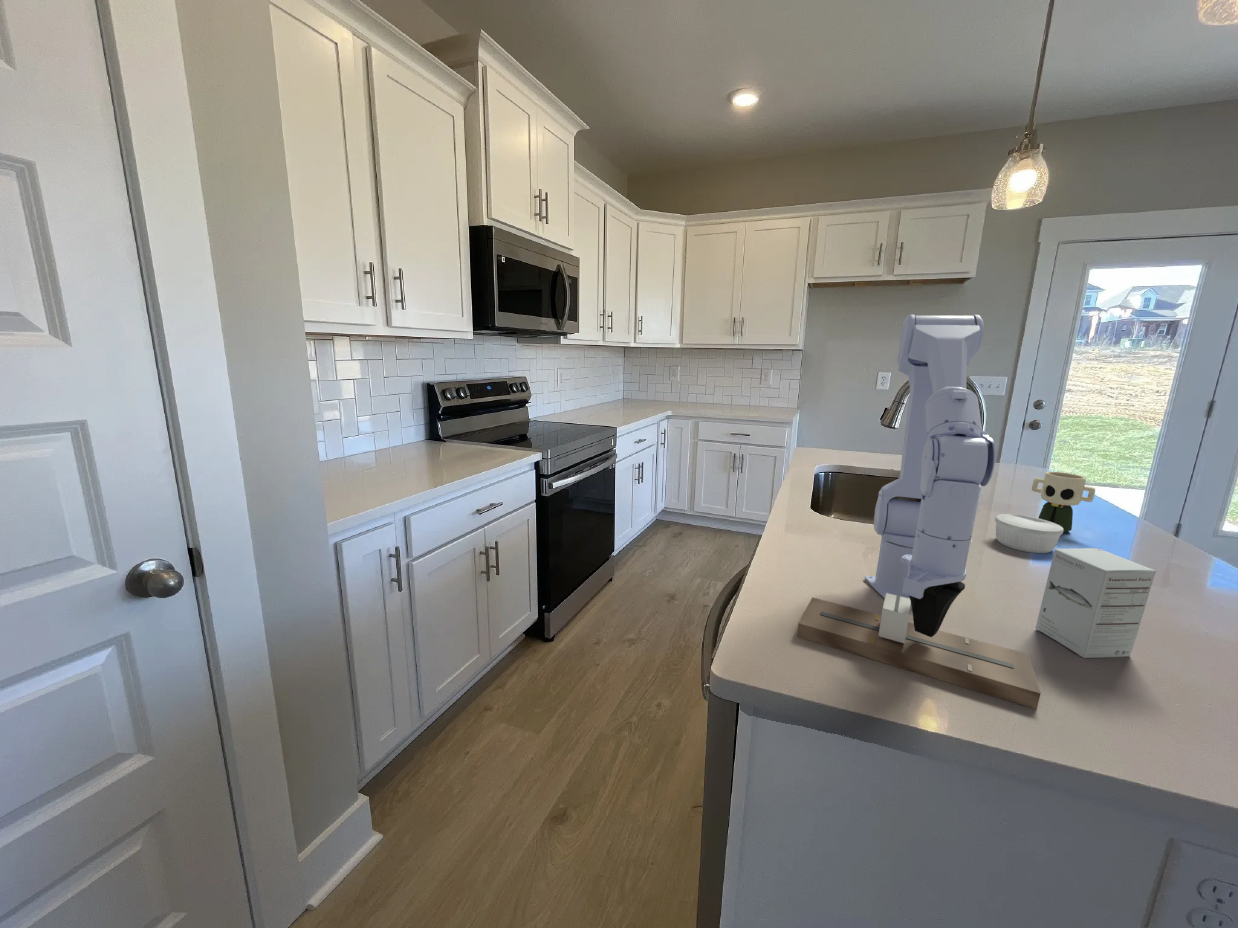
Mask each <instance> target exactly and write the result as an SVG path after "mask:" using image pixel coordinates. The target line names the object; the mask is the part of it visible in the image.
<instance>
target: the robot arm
mask: <svg viewBox="0 0 1238 928" xmlns="http://www.w3.org/2000/svg"><path fill="white" fill-rule="evenodd" d="M984 333H985V323H984V319H983V318H982V317H981V316H980V314H972V315H915V314H909V315H908V316H907V317H906V318H904V320H903V324H902V327H901V330H900V337H899V345H898V347H899V348H898V355H897V366H898V368H897V371H898V372H900V373H902V374H904V375H905V376H907V377H908V382H909V383H908V384H909V385H908V386H909V395H908V404H907V413H906V422H905V431H904V438H903V445H902V454H901V461H900V462H901V463H900V472H899V477H898V478H897V479H895V480H893V481H891V482H889V483H887V484H885V485H883V486H882V487H881V488H880V490H879V491H878V497H877V501H876V504H875V508H874V516H873V529H874V532H876V534H877V535H879V536H880V535H881V541H880V546H879V553H878V560H877V566H876V571H875V576H874V575H873V576H872V575H866V576H864V580H865V581H866V582H867V583H868V584H869V585H870V586H871V587H872V588H873V589H874V590H875V591H876V592H877V593H878V594H879V595H880V596H882V597H881V598H883V600H885V596H886V593H888V594H892V595H896V596H897V595H899V596H900V597H905V598H909V599H910V601H911V605H910V606H911V611H912V620H913V624H914V628H915V631H917V632H919V633H921V634H924V635H926V636H929V637H933V636H934V635H935V634H936V633H937V632H938V630H939V631H940V628H941V626H942V624H943V621H944V619H945V617H946V615H947V614H948V611H949V609H950V607H951V605H953V603H954V601H955V600H956V599H957V597H958V596H959V595H960V594H961V593H962V591H963V592H964V590H965V588H966V584H965V583H964V582H963V581H965V580H966V578H967V568H966V567H967V561H968V556H969V551H970V547H971V540H972V537H973V530H974V527H975V520H976V516H977V511H978V510H977V509H978V504H979V501H980V495H981V491H982V489H981V487H987V485H988V484H989V483H990V482H991V479H992V477H993V474H994V470H995V464H996V446H995V445H996V444H995V441H994V439H993V438H992V437H991V436H990V435H989V432H988V431H985V430H983V425H982V420H981V418H982V417H981V413H980V412H981V411H980V406H979V404H980V403H979V398H978V396H977V394H976V393H975V392H973V391H972V390H970V389H967V377H968V375H967V373H968V371H967V370H968V367H969V366H970V364H971V362H972V361H973V360H974V358H975V357H976V355H977V354H978V353H979V351H980V348H981V345H982V343H983V339H984ZM980 486H981V487H980ZM896 497H897V498H896ZM898 497H902V498H903V497H904V498H911V499H919V500H920V499H921V500H920V501H918V500H917V501H916V500H911V499H901V498H898Z"/></svg>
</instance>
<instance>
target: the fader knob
mask: <svg viewBox="0 0 1238 928" xmlns="http://www.w3.org/2000/svg"><path fill="white" fill-rule="evenodd" d="M883 600H884V601H883V606H882V612H881V615H882V616H881V623H880V629H879V635H878V636H880V637H883V638H887V639H891V640H894V641H898V642H901V643H905V638H906V632H907V626H908V622H909V619H910V615H911V614H910V613H911V612H910V611H911V606H912V605H911V601H910V599H909V598H905V597H900V596H899V595H897V596H896V595H892V594H888V593H886V596H885V599H883Z"/></svg>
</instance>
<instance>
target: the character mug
mask: <svg viewBox="0 0 1238 928" xmlns="http://www.w3.org/2000/svg"><path fill="white" fill-rule="evenodd" d="M1086 481H1087V477H1085V476H1084V475H1079V474H1076V473H1075V474H1074V473H1068V472H1065V471H1064V472H1063V471H1045V475H1044V478H1039V477H1034V478H1033V480H1032V485H1031V492H1032V491H1033V492H1035V493H1039V494H1040V499H1042V500H1043V501H1045V503H1044V504H1043V505H1042V508H1041V509H1040V510H1041V511H1040V513H1039V515H1038V517H1037V518H1039V519H1043V520H1046V521H1049V522H1052V523H1055V524H1057V525H1059V526H1061V527H1062V528H1063V529H1064V531H1063V533H1067V532H1070V531H1072V529H1073V516H1074V514H1073V512H1074V511H1073V510H1074V509H1073V507H1072V506H1078V505H1079V504H1080V503H1081V502H1082V501H1083V502H1087V503H1093V501H1094V498H1095V493H1096V488H1095V487H1093V486H1086ZM1039 483H1041V484H1042V487H1041V488H1039V487H1038V485H1039ZM1084 491H1085V492H1088V494H1087V496H1083V493H1084Z"/></svg>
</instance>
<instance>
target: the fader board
mask: <svg viewBox="0 0 1238 928" xmlns="http://www.w3.org/2000/svg"><path fill="white" fill-rule="evenodd" d="M881 616H882V614H877V613H873V612H871V611H867V610H863V609H859V608H855V607H850V606H847V605H843V604H839V603H835V602H831V601H828V600H824V599H820V598H816V597H811V599H810V600H809V603H808V605H807V606H806V608H805V611H804V612H803V614H802V616H801V618H800V620H799V621H798V627H797V635H796V636H797V637H798V638H801V639H806V640H807V641H808V640H809V641H811V642H815V643H818V644H822V645H825V646H828V647H831V648H835V649H838V650H841V651H844V652H848V653H851V654H854V655H858V656H861V657H864V658H867V659H870V660H874V661H877V662H881V663H884V664H887V665H891V666H893V667H894V666H895V667H897V668H901V669H903V670H907V671H909V672H914V673H916V674H919V675H924V676H927V677H930V678H933V679H936V680H940V681H943V682H947V683H950V684H953V685H956V686H960V687H963V688H966V689H969V690H972V691H976V692H979V693H982V694H985V695H990V696H992V697H995V698H999V699H1002V700H1006V701H1007V702H1008V701H1009V702H1012V703H1016V704H1018V705H1022V706H1024V707H1029V708H1032V709H1036V710H1037V709H1038V706H1039V702H1040V698H1041V695H1042V693H1041V691H1040V686H1039V683H1038V681H1037V678H1036V673H1035V671H1034V667H1033V665H1032V660H1031V657H1030V654H1029V653H1026V652H1023V651H1018V650H1014V649H1012V648H1007V647H1003V646H1000V645H996V644H993V643H992V644H991V643H989V642H988V643H987V642H985V641H982V640H981V641H980V640H977V639H972V638H969V637H965V636H961V635H958V634H954V633H951V632H950V633H949V632H946V631H942V630H940V629H939V630H938V632H937V633H936V634H935V635H934V636H933V637H929V636H926V635H924V634H921V633H919V632H917V631H915V628H914V623H913V622H909V621H908V626H907V632H906V638H905V643H901V642H898V641H894V640H891V639H887V638H883V637H880V636H878V635H879V629H880V623H881Z"/></svg>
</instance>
